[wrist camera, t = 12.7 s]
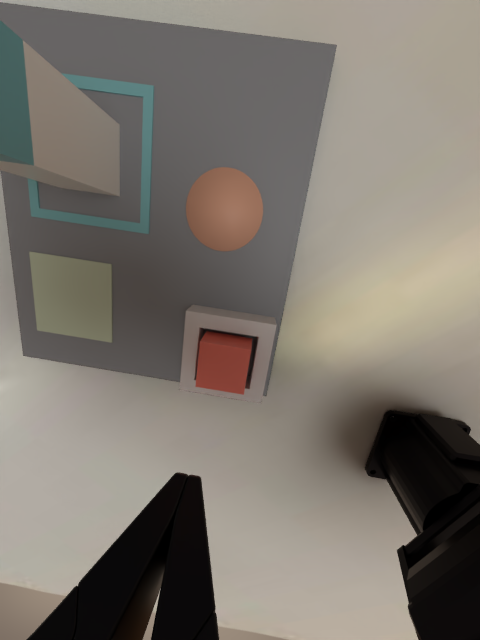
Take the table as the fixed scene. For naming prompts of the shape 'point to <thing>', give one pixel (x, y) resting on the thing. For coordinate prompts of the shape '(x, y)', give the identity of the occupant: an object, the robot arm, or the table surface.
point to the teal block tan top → (53, 125)
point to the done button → (223, 362)
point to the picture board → (169, 196)
